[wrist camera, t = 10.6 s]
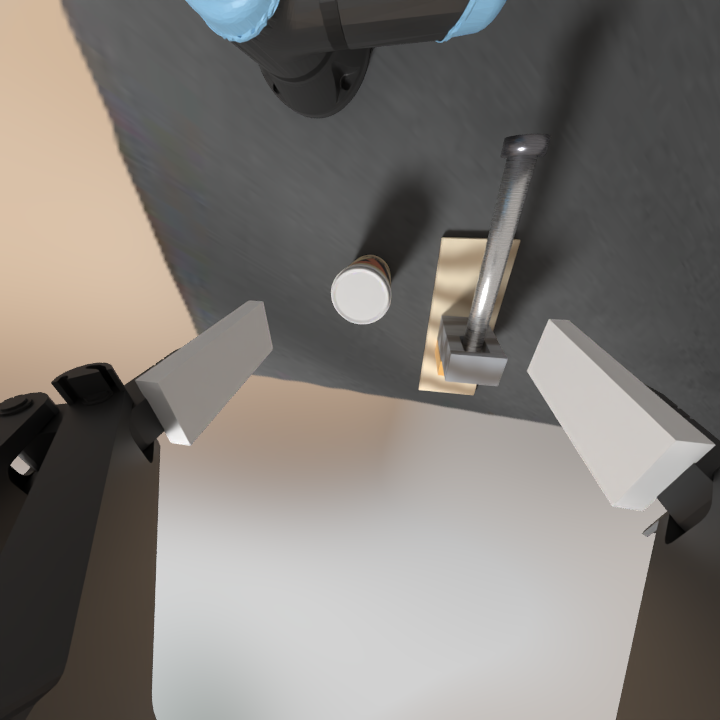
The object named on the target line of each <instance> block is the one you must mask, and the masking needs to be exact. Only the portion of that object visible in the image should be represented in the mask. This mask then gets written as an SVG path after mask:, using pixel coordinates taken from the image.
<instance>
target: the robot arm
mask: <svg viewBox="0 0 720 720" xmlns="http://www.w3.org/2000/svg"><path fill="white" fill-rule="evenodd" d="M186 1H187V2H188V4H189V5H190V6H191V7H192V8H193V9H194V10H195V11H196V12H197V13H198V14H199V15H200V16H201V17H202V18H203V19H204V20H205V22H206V23H207V25H208V26H209V27H210V28H211V29H212V30H213V31H214V32H215V33H216V34H218V35H219V36H222V37H223V38H224V39H226V38H227V39H228V40H229V41H230V42H232V43H233V44H234V45H235V46H237V47H238V48H239V49H240V50H242V51H243V52H244V53H245V54H247V55H248V56H249V57H250V58H252V59H253V60H254V61H255V62H257V63H258V64H259V67H260V69H261V72H262V74H263V76H264V78H265V80H266V81H267V83H268V85H269V86H270V88H271V89H272V91H273V92H274V93H275V95H276V96H277V97H278V98H279V99H280V100H281V101H282V102H283V103H284V104H285V105H287V106H288V107H289V108H291V109H292V110H294V111H295V112H297V113H299V114H301V115H303V116H306V117H310V118H325V117H329V116H331V115H334V114H336V113H337V112H339V111H340V110H342V109H343V108H344V107H345V106H346V105H347V104H348V103H349V102H350V101H351V100H352V98H353V97H354V96H355V94H356V93H357V91H358V89H359V87H360V85H361V83H362V81H363V78H364V76H365V73H366V69H367V66H368V61H369V56H370V49H371V47H380V46H390V45H399V44H409V43H418V42H428V41H436V42H438V43H443V41H447V40H449V39H450V38H451V37H456V36H462V35H467V34H473V33H477V32H479V31H480V30H482V29H484V28H485V27H486V26H487V25H489V24H490V23H491V22H492V21H493V20H494V19H495V17H496V16H497V15H498V13H499V12H500V11H501V9H502V7H503V6H504V4H505V2H506V1H507V0H186ZM272 350H273V346H272V342H271V337H270V332H269V327H268V322H267V317H266V313H265V308H264V303H263V301H248V302H246V303H245V304H243V305H242V306H240V307H239V308H238V309H236V310H235V311H233V312H232V313H230V314H229V315H228V316H226V317H225V318H223V319H222V320H220V321H219V322H217V323H216V324H215V325H213V326H212V327H210V328H209V329H207V330H206V331H205V332H203V333H202V334H200V335H199V336H197V337H196V338H195V339H193V340H192V341H190V342H189V343H187V344H186V345H184V346H183V347H182V348H179V349H177V350H175V351H173V352H172V353H170V354H169V355H168V356H166V357H165V358H164V359H162V360H160V361H159V362H157V363H156V365H153V366H152V367H150V368H149V369H147V370H146V371H145V372H143V373H142V374H140V375H139V376H137V377H136V378H134V379H133V380H131V381H130V382H128V383H127V384H126V385H123V383H122V382H121V380H120V379H119V377H118V375H117V374H116V372H115V370H114V369H113V367H112V366H111V365H110V364H108V363H93V364H87V365H84V366H81V367H77V368H74V369H72V370H69V371H67V372H65V373H63V374H61V375H60V376H58V377H56V378H55V379H54V380H53V381H52V382H51V383H52V385H53V386H54V387H55V388H56V390H57V391H58V392H59V394H60V395H61V396H62V397H63V398H64V400H65V401H66V402H67V404H58V405H56V404H55V403H54V402H53V401H52V400H51V399H50V398H49V396H48V395H47V394H45V393H42V392H38V393H29V394H25V395H18V396H15V397H14V398H9V399H7V400H5V401H4V402H2V403H0V720H156V717H155V714H154V711H153V705H152V669H153V668H152V667H153V640H154V612H155V582H156V554H157V551H156V550H157V523H158V496H159V465H160V464H159V463H160V445H159V442H158V440H157V439H156V438H157V437H158V436H159V435H160V434H162V433H163V432H165V433H166V435H167V437H168V438H169V440H170V442H171V443H175V444H182V445H189V446H191V445H192V444H193V442H194V441H195V440H196V439H197V438H198V436H199V435H200V434H201V433H202V432H203V431H204V430H205V428H206V427H207V426H208V425H209V424H210V422H211V421H212V420H213V419H214V418H215V416H216V415H217V414H218V413H219V412H220V411H221V410H222V408H223V407H224V406H225V405H226V404H227V402H228V401H229V400H230V399H231V398H232V397H233V396H234V394H235V393H236V392H237V391H238V390H239V388H240V387H241V386H242V385H243V384H244V383H245V381H246V380H247V379H248V378H249V377H250V376H251V374H252V373H253V372H254V371H255V370H256V369H257V367H258V366H259V365H260V364H261V363H262V362H263V360H264V359H265V358H266V357H267V356H268V355H269V353H270V352H271V351H272ZM527 372H528V373H529V375H530V377H531V378H532V380H533V381H534V383H535V385H536V386H537V388H538V389H539V391H540V393H541V394H542V396H543V397H544V399H545V400H546V402H547V404H548V405H549V407H550V408H551V410H552V412H553V413H554V415H555V416H556V418H557V420H558V421H559V423H560V424H561V426H562V427H563V429H564V430H565V432H566V434H567V435H568V437H569V439H570V440H571V442H572V443H573V445H574V447H575V448H576V450H577V451H578V453H579V454H580V456H581V458H582V459H583V461H584V462H585V464H586V465H587V467H588V469H589V470H590V472H591V474H592V475H593V477H594V478H595V480H596V482H597V483H598V485H599V486H600V488H601V489H602V491H603V492H604V494H605V496H606V497H607V499H608V501H609V502H610V504H611V505H612V507H619V508H625V509H632V510H639V511H644V510H645V509H646V508H647V507H648V506H649V505H650V504H651V503H653V502H654V501H655V500H656V499H658V500H659V501H660V502H661V504H662V505H663V506H664V507H665V509H666V510H667V512H666V513H665V514H664V515H662V516H661V517H660V518H659V519H657V520H656V521H655V522H654V523H653V524H651V525H650V526H649V527H648V528H647V529H646V530H645V531H644V532H643V535H645V536H647V537H648V536H650V535H651V534H652V533H656V536H655V541H654V545H653V550H652V554H651V559H650V564H649V569H648V573H647V577H646V582H645V587H644V591H643V596H642V601H641V605H640V610H639V615H638V619H637V624H636V628H635V633H634V638H633V642H632V648H631V652H630V656H629V661H628V666H627V670H626V675H625V680H624V684H623V689H622V693H621V698H620V703H619V707H618V713H617V717H616V720H720V441H719V440H718V439H717V438H716V437H714V436H713V435H712V434H711V433H710V432H708V431H707V430H706V429H705V428H704V427H702V426H701V425H700V424H699V423H697V422H696V421H695V420H694V419H690V416H689V415H688V414H686V413H685V412H684V411H683V410H682V409H678V408H677V407H678V406H677V405H676V404H674V403H673V402H672V401H671V400H669V399H668V398H667V397H666V396H665V395H663V394H662V393H660V392H658V391H656V390H654V389H653V388H651V387H649V386H647V385H645V384H643V383H642V382H641V381H640V380H638V379H637V378H636V377H635V376H634V375H633V374H631V373H630V372H629V371H628V370H627V369H625V368H624V367H623V366H622V365H621V364H620V363H618V362H617V361H616V360H615V359H614V358H612V357H611V356H610V355H609V354H608V353H607V352H605V351H604V350H603V349H602V348H601V347H599V346H598V345H597V344H596V343H595V342H594V341H592V340H591V339H590V338H589V337H588V336H586V335H585V334H584V333H583V332H582V331H581V330H579V329H578V328H577V327H576V326H575V325H573V324H572V323H571V322H570V321H569V320H557V319H549V320H548V323H547V325H546V327H545V330H544V332H543V334H542V337H541V339H540V342H539V344H538V346H537V349H536V351H535V353H534V356H533V358H532V361H531V363H530V365H529V368H528V370H527ZM17 456H19V457H20V458H21V459H22V460H23V461H24V462H25V463H27V464H28V465H29V466H30V469H29V470H28V471H27V472H26V473H25V474H24V475H21V474H19V473H18V472H17V471H16V470H14V469H13V468H12V467H11V466H10V465H11V463H12V462H13V460H14V459H15V458H16V457H17Z"/></svg>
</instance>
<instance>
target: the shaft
mask: <svg viewBox="0 0 720 720" xmlns="http://www.w3.org/2000/svg"><path fill="white" fill-rule="evenodd" d="M550 138H551V135H549V134H525V135H516V136H510V137H506V138H505V139H504V144H503V148H502V152H501V157H502V158H507V160H506V164H505V168H504V172H503V177H502V181H501V185H500V189H499V193H498V197H497V202H496V206H495V210H494V214H493V218H492V222H491V227H490V231H489V235H488V239H487V243H486V247H485V251H484V256H483V260H482V264H481V268H480V272H479V276H478V281H477V285H476V289H475V293H474V297H473V301H472V306H471V310H470V314H469V318H468V322H467V326H466V331H465V335H464V339H463V343H462V347H463V350H464V351H469V352H481V350H482V346H483V343H484V340H485V336H486V333H487V329H488V326H489V322H490V319H491V315H492V312H493V308H494V305H495V302H496V298H497V295H498V291H499V288H500V284H501V281H502V277H503V274H504V271H505V267H506V264H507V260H508V257H509V253H510V250H511V246H512V243H513V239H514V236H515V233H516V229H517V226H518V222H519V219H520V215H521V212H522V208H523V205H524V202H525V198H526V195H527V191H528V188H529V184H530V181H531V177H532V174H533V170H534V167H535V164H536V160H537V157H540V156H545V155H546V151H547V148H548V145H549V141H550Z"/></svg>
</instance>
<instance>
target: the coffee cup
mask: <svg viewBox="0 0 720 720" xmlns="http://www.w3.org/2000/svg"><path fill="white" fill-rule="evenodd" d="M331 298H332V302H333V305H334V307H335V308H336V310H337V311H338V313H339V314H340V315H341V316H342V317H343V318H345V319H346V320H348V321H350V322H352V323H356V324H369V323H372V322H375V321H377V320H379V319H380V318H381V317H382V316H383V315H384V314H385V313H386V312H387V310H388V308H389V306H390V303H391V275H390V270H389V267H388V265H387V264H386V262H385V261H384V260H383V259H381V258H380V257H378V256H375V255H365V256H362V257H360V258H358V259H357V260H355V261H354V262H353V263H352V264H350V265H349V266H348V267H347V268H345V269H343V270H342V271H341V272H340V273H339V274H338V275H337V276H336V278H335V279H334V282H333V284H332V288H331Z"/></svg>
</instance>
